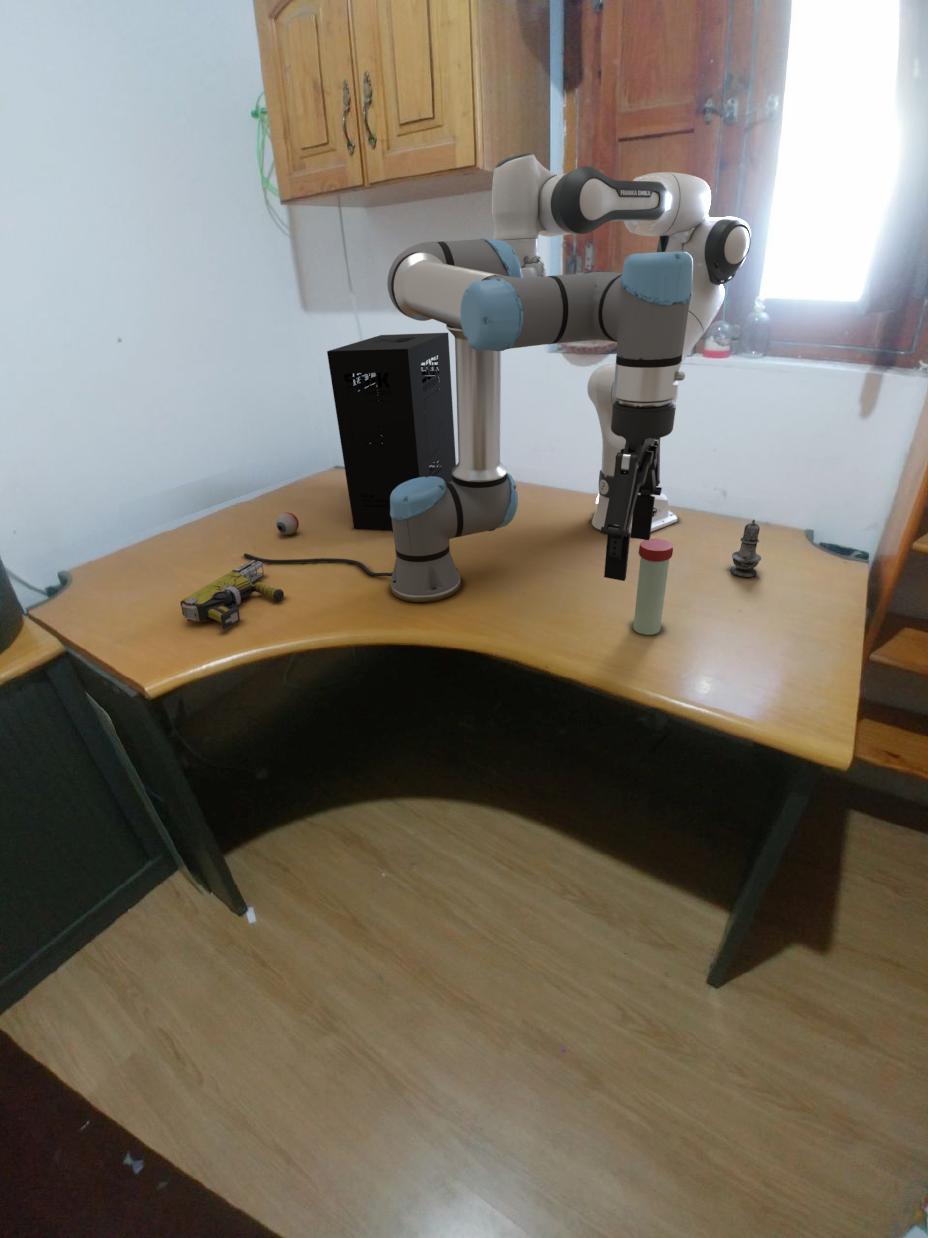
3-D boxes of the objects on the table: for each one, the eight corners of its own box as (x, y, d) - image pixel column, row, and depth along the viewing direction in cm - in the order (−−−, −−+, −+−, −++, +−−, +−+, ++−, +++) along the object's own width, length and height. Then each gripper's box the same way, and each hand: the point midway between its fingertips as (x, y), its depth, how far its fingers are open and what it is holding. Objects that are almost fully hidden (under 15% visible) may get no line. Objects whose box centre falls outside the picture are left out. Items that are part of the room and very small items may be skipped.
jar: (665, 630, 113) (676, 548, 104) (645, 637, 111) (655, 554, 103) (647, 619, 117) (656, 539, 108) (627, 626, 115) (635, 545, 106)
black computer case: (424, 530, 162) (407, 348, 139) (353, 528, 166) (326, 351, 144) (457, 486, 193) (448, 332, 171) (397, 485, 198) (380, 334, 175)
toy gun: (305, 569, 137) (249, 557, 141) (237, 616, 117) (174, 600, 121) (306, 587, 139) (251, 575, 143) (240, 636, 119) (178, 621, 123)
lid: (679, 556, 105) (680, 546, 104) (654, 564, 103) (655, 553, 102) (655, 546, 109) (657, 535, 108) (631, 553, 107) (632, 542, 106)
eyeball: (273, 537, 164) (268, 516, 161) (287, 528, 169) (282, 508, 166) (291, 539, 161) (286, 518, 158) (305, 530, 166) (301, 510, 163)
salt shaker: (760, 577, 128) (772, 524, 122) (731, 576, 130) (741, 524, 124) (755, 566, 133) (766, 514, 127) (726, 565, 135) (736, 514, 129)
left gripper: (652, 427, 63) (632, 603, 74) (694, 381, 81) (673, 527, 92) (582, 422, 66) (573, 592, 77) (638, 378, 84) (625, 520, 95)
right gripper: (557, 254, 111) (556, 336, 118) (505, 258, 127) (506, 331, 134) (528, 255, 109) (527, 339, 116) (478, 260, 125) (481, 333, 132)
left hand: (628, 557), depth 85 cm, fingers open, 13 cm apart
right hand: (516, 335), depth 125 cm, fingers open, 8 cm apart
